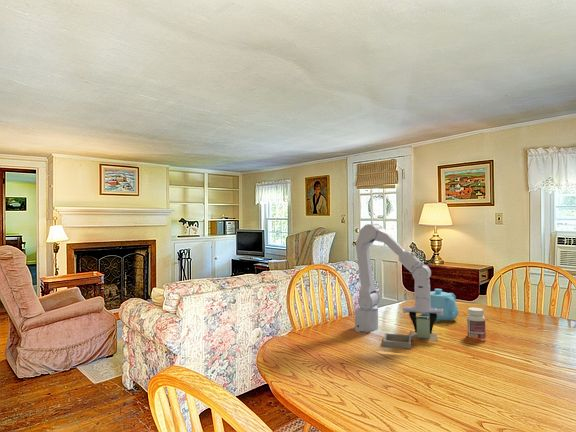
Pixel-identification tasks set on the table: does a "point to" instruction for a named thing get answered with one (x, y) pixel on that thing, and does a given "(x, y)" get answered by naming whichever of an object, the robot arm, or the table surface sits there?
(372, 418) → the table surface
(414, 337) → the pin block
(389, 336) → the grey tray
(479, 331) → the pill bottle
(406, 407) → the table surface
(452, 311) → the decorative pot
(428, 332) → the green sleeve
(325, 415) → the table surface
